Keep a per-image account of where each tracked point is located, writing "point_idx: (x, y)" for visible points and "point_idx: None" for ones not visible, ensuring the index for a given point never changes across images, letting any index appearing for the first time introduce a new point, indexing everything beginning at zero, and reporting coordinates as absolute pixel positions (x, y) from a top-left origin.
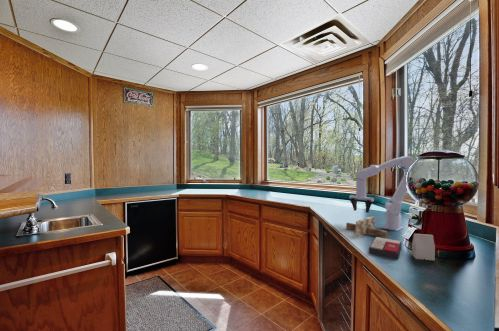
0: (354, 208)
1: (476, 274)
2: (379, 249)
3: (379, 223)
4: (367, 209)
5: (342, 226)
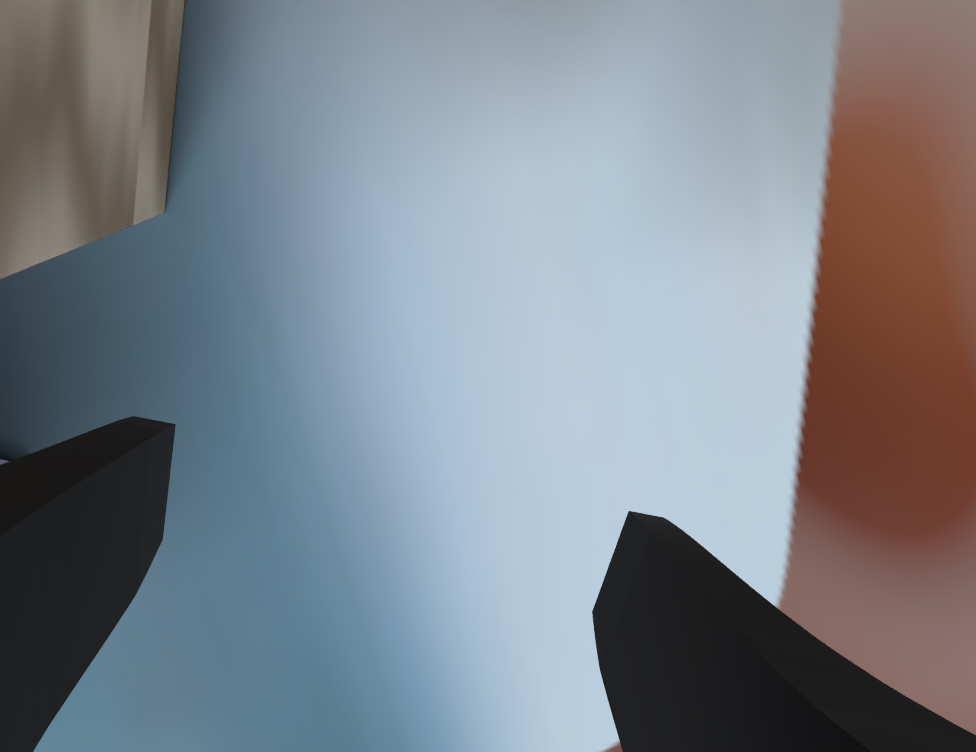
0: (666, 544)
1: None
2: None
3: (201, 737)
4: (23, 458)
5: (776, 75)
